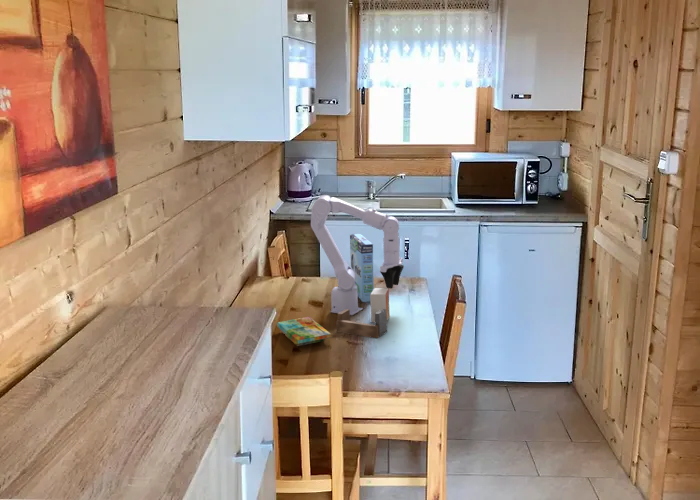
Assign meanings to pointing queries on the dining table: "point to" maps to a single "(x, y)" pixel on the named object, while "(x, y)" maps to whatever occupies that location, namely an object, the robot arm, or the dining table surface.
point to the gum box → (362, 265)
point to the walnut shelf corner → (355, 326)
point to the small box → (379, 301)
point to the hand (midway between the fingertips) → (392, 286)
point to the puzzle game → (303, 331)
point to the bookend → (381, 321)
